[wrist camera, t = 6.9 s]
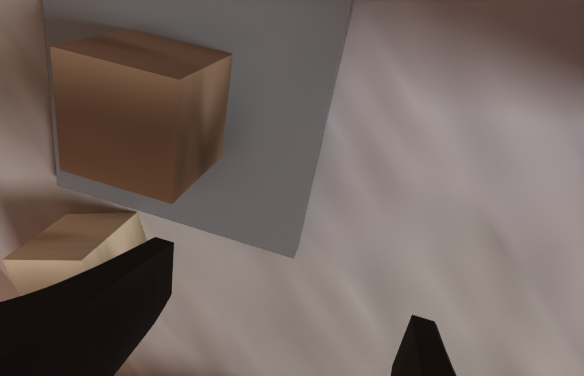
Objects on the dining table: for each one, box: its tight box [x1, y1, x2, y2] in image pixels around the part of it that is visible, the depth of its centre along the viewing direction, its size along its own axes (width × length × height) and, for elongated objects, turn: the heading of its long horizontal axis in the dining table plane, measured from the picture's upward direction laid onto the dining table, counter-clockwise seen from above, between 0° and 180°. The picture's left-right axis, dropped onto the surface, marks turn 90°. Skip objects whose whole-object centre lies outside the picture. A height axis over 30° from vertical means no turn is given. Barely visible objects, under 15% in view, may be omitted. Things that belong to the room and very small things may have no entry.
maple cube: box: [2, 212, 147, 296], centre depth 26 cm, size 5×5×5 cm
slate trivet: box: [42, 0, 354, 258], centre depth 22 cm, size 14×14×1 cm
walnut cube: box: [50, 29, 233, 204], centre depth 19 cm, size 5×5×5 cm
